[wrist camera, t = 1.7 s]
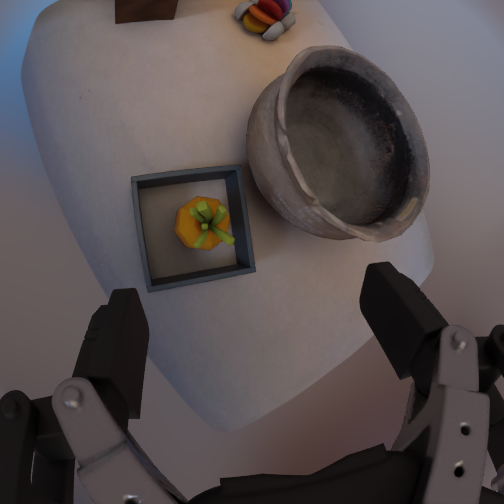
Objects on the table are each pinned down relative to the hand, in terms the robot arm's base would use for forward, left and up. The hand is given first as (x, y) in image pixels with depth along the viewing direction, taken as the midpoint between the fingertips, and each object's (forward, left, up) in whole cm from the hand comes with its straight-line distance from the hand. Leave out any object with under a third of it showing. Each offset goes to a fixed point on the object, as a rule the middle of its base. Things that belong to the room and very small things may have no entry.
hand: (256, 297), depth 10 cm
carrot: (+2, +3, -27) cm, 27 cm away
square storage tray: (+2, +3, -27) cm, 27 cm away
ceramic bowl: (+19, +10, -27) cm, 34 cm away
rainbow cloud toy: (+17, +36, -27) cm, 48 cm away
